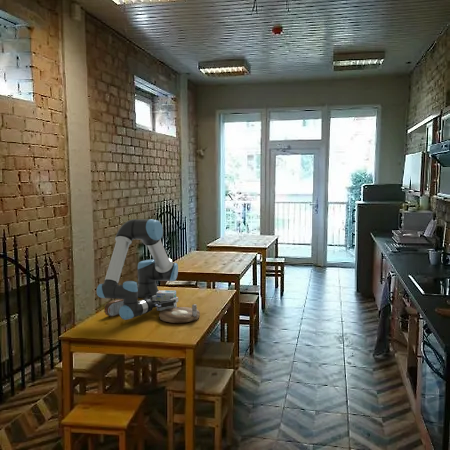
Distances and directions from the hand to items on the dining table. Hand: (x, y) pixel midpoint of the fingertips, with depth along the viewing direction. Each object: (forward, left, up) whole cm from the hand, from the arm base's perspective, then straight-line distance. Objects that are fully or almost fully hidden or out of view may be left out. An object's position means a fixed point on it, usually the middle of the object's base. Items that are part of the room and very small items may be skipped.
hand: (168, 297), depth 268 cm
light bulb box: (+2, 0, -7) cm, 7 cm away
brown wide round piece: (+11, +17, -5) cm, 21 cm away
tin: (+25, -17, -7) cm, 31 cm away
